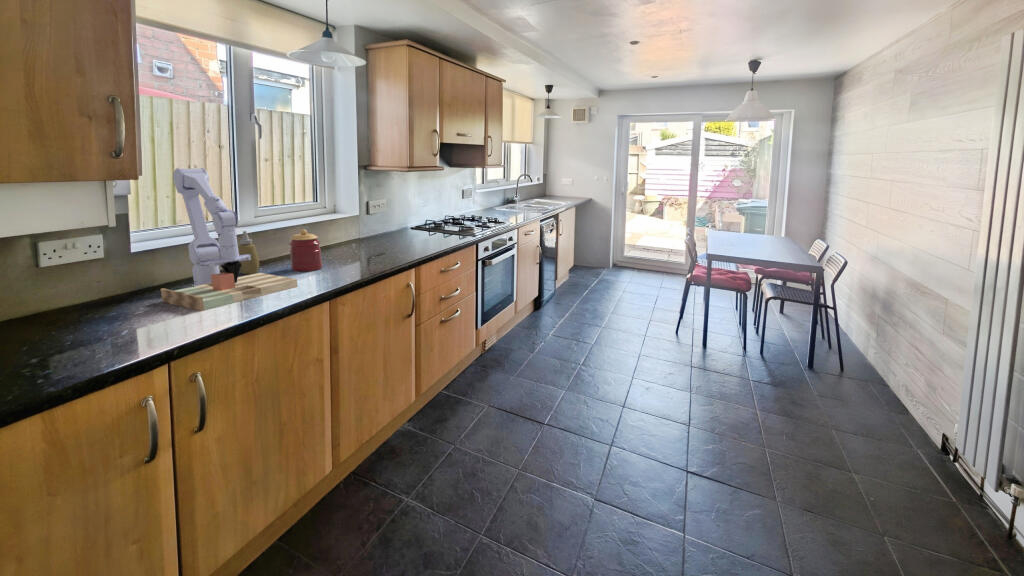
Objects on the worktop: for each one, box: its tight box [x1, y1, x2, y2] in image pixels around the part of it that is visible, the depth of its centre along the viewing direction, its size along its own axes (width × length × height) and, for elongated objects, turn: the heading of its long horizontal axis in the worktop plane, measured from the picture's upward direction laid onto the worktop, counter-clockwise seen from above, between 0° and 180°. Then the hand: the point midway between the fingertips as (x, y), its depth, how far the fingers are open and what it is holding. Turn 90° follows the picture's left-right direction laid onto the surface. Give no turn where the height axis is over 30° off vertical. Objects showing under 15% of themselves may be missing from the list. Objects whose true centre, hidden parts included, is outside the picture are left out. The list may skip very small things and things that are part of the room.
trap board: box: [160, 272, 299, 312], centre depth 180 cm, size 22×37×4 cm, turn 152°
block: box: [211, 271, 235, 291], centre depth 176 cm, size 5×5×5 cm
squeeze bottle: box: [238, 230, 260, 275], centre depth 211 cm, size 8×8×18 cm
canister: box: [288, 229, 323, 273], centre depth 220 cm, size 13×13×18 cm
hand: (233, 282), depth 180 cm, fingers closed
